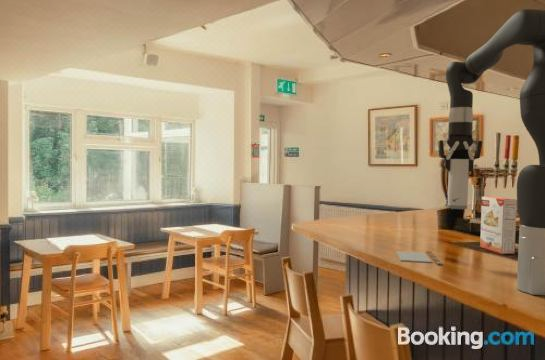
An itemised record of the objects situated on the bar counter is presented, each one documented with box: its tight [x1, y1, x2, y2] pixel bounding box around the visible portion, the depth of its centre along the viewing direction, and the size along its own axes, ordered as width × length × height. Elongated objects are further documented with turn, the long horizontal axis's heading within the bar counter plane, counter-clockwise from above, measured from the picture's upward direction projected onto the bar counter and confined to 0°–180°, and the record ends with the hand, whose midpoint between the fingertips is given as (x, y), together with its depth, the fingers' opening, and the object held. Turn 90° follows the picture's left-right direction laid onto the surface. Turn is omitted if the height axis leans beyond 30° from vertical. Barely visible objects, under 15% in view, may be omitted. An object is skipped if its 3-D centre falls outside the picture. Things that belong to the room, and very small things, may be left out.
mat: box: [395, 250, 433, 264], centre depth 161 cm, size 16×10×1 cm, turn 170°
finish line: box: [425, 250, 443, 266], centre depth 160 cm, size 22×2×1 cm, turn 170°
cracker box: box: [479, 195, 517, 255], centre depth 178 cm, size 14×6×21 cm, turn 8°
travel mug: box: [446, 149, 469, 210], centre depth 155 cm, size 6×7×20 cm
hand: (458, 171), depth 155 cm, fingers closed on travel mug, 6 cm apart
